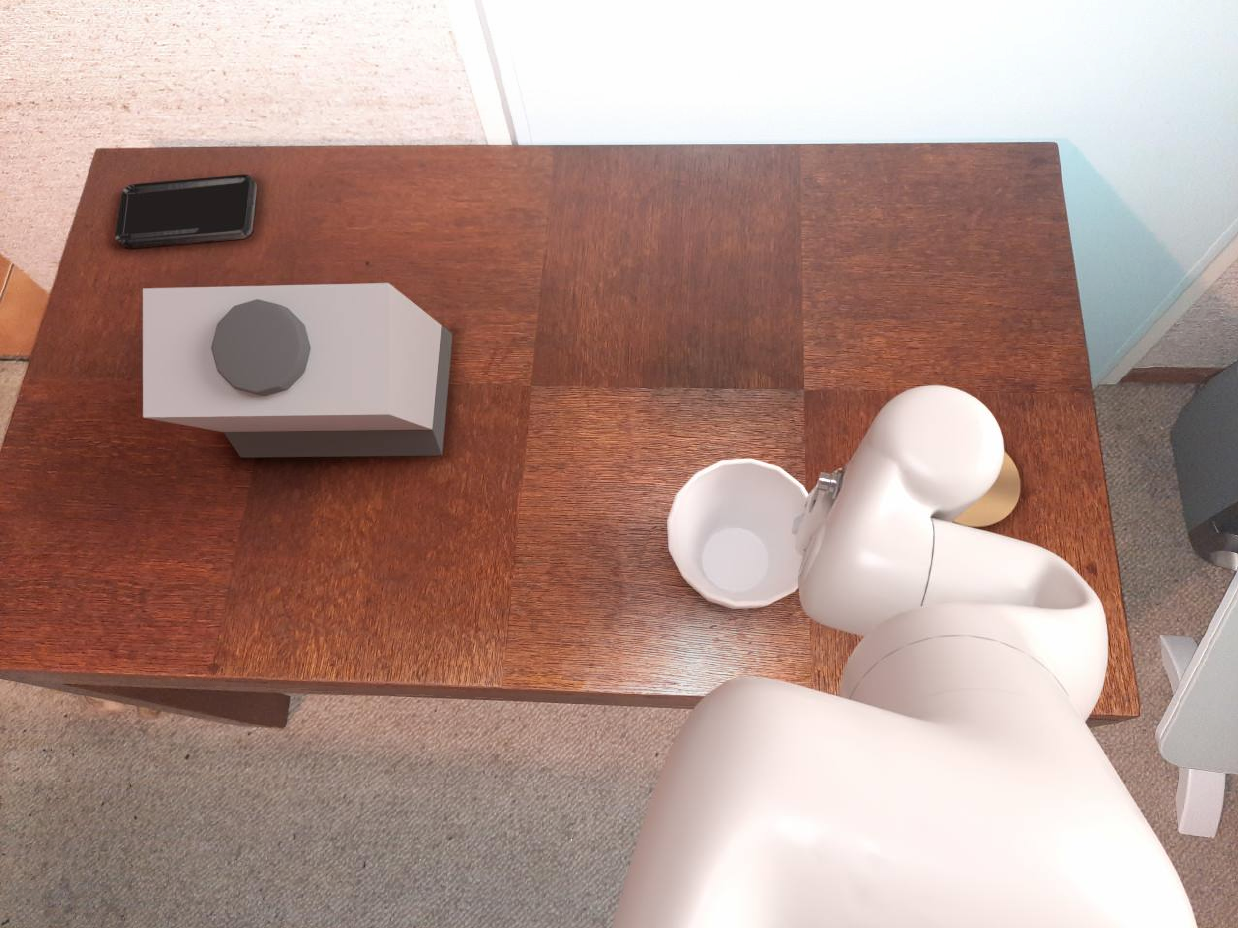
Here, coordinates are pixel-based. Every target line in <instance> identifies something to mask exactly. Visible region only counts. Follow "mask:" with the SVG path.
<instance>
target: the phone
mask: <svg viewBox="0 0 1238 928" xmlns="http://www.w3.org/2000/svg"><path fill="white" fill-rule="evenodd" d="M257 197H258V184H257V182H256V181H255V180H254V178H253V177H252V176H250V175H249V174H244V173H243V174H233V175H232V174H231V175H222V176H221V175H219V176H210V177H200V178H187V179H186V178H185V179H176V180H175V179H174V180H163V181H154V182H152V181H151V182H143V183H142V182H141V183H132V184H129V185H127V186H126V187H124V189H123V190H122V192H121V198H120V203H119V209H118V215H117V221H116V227H115V233H114V238H115V240H116V241H117V242H118V243H119V244H120V245H121V246H122V247H123V248H125V249H139V248H152V247H162V246H163V247H164V246H175V245H186V244H199V243H210V242H211V243H212V242H221V241H223V242H224V241H233V240H243V239H247V238H248V237H250V236H251V235H252V234H253V232H254V225H255V216H256V208H257V207H256V206H257Z"/></svg>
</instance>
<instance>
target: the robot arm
mask: <svg viewBox="0 0 1238 928" xmlns="http://www.w3.org/2000/svg"><path fill="white" fill-rule="evenodd" d="M1004 443H1005V441H1004V437H1003V433H1002V429H1001V427H1000V424H999V423H998V421H997V419H996V417H995V416H994V414H993V413H992V412H991V411H990V409H989V408H988V407H987V406H986V405H985V404H984V403H982V402H981V401H980V400H979V399H978V398H977V397H975V396H974V395H971V394H970V393H968V392H966V391H964V390H961V389H959V388H956V387H952V386H948V385H940V384H929V385H920V386H917V387H912V388H908V389H906V390H904V391H903V392H902V391H901V393H899V394H896V395H895V396H894V397H892V399H890V400H888V401H887V402H886V403H885V404H884V405H883V407H882V408H881V409H880V411H879V412H878V413H877V414H876V416H875V417H874V419H873V421H872V423H871V424H870V426H869V428H868V430H867V431H866V433H865V435H864V436H863V437H862V439H861V442H860V443H859V444H858V447H857V448H856V450H855V452H854V453H853V455H852V456H851V458H850V460H849V462H847V461H846V462H845V463H844V464H843V466H842V467H840V468H837V469H835V470H833V471H831V472H826V471H823V470H820V471H819V474H818V477H817V482H816V484H815V486H814V487H813V488H812V489H811V491H810V492H809V493H808V496H807V498H806V500H805V503H804V507H806V510H805V513H804V514H802V515H800V516H798V517H796V518H795V519H794V523H793V528H792V533H793V534H795V535H796V543H795V549H796V551H797V552H798V553H799V554H800V555H801V556H803V558H802V562H801V566H800V569H799V574H798V590H799V591H798V592H799V593H798V595H799V596H798V597H799V602H800V605H801V609H802V610H803V612H804V613H805V614H806V615H807V617H808V618H810V619H811V620H813V621H814V622H816V623H818V624H820V625H822V626H825V627H828V628H830V629H834V630H837V631H841V632H845V633H848V634H852V635H855V636H858V637H863V638H862V639H861V640H860V641H859V642H858V644H857V645H856V646H855V648H854V649H853V651H852V653H851V654H850V656H849V657H848V659H847V661H846V663H845V665H844V669H843V672H842V673H841V678H840V683H839V690H838V692H839V693H838V695H834V694H832V693H827V692H824V691H820V690H817V689H814V688H810V687H806V686H803V685H799V684H796V683H793V682H789V681H785V680H780V679H774V678H768V677H764V676H756V675H748V676H747V675H746V676H737V677H735V678H732V679H729V680H726V681H724V682H723V683H721V684H720V685H718V686H717V687H715V688H713V690H711V691H709V692H708V693H706V695H705V696H704V697H702V698H701V700H700V701H699V702H698V703H697V704H696V705H695V706H694V708H693V709H692V710H691V712H690V714H689V715H688V716H687V718H686V720H684V721H683V724H682V726H681V728H680V730H679V731H678V733H677V735H676V737H675V738H674V741H673V743H672V744H671V747H670V749H669V751H668V754H667V756H666V758H665V761H664V763H663V765H662V767H661V769H660V772H659V775H658V778H657V780H656V783H655V785H654V788H653V791H652V793H651V797H650V799H649V802H648V805H647V808H646V811H645V813H644V814H645V815H644V817H643V821H642V824H641V828H640V830H639V832H638V837H637V839H636V843H635V845H634V849H633V851H632V855H631V858H630V862H629V864H628V868H627V871H626V875H625V878H624V882H623V885H622V889H621V893H620V896H619V900H618V903H617V908H616V910H615V914H614V918H613V921H612V925H611V928H1199V927H1198V924H1197V920H1196V917H1195V913H1194V910H1193V906H1192V905H1191V902H1190V899H1189V897H1188V894H1187V891H1186V890H1185V888H1184V885H1183V883H1182V880H1181V877H1180V875H1179V873H1178V872H1177V870H1176V867H1175V866H1174V864H1173V863H1172V861H1171V859H1170V857H1169V855H1168V854H1167V851H1166V850H1165V847H1164V846H1163V844H1162V843H1161V841H1160V840H1159V838H1158V836H1157V834H1156V833H1155V832H1154V830H1153V828H1152V826H1151V825H1150V823H1149V822H1148V820H1147V819H1146V817H1145V816H1144V813H1143V812H1142V811H1141V809H1140V807H1139V805H1138V804H1137V803H1136V801H1135V799H1134V798H1133V796H1132V794H1131V793H1130V792H1129V789H1128V788H1127V786H1126V785H1125V783H1124V782H1123V780H1122V779H1121V776H1119V774H1118V772H1117V771H1116V769H1115V768H1114V766H1113V764H1112V763H1111V761H1110V759H1109V758H1108V756H1107V755H1106V753H1105V751H1104V750H1103V748H1102V747H1101V745H1100V744H1099V742H1098V741H1097V739H1096V737H1095V736H1094V734H1093V733H1092V731H1091V729H1090V728H1089V726H1088V725H1087V723H1086V722H1087V720H1088V719H1089V717H1090V715H1091V713H1092V712H1093V710H1094V708H1095V707H1096V705H1097V703H1098V701H1099V699H1100V696H1101V693H1102V691H1103V688H1104V683H1105V678H1106V674H1107V668H1108V661H1109V634H1108V626H1107V618H1106V613H1105V610H1104V607H1103V603H1102V601H1101V599H1100V598H1099V596H1098V595H1097V593H1096V592H1095V591H1094V589H1093V588H1092V587H1091V586H1090V584H1088V583H1087V581H1086V580H1085V579H1084V577H1082V575H1080V574H1079V573H1078V572H1077V570H1076V569H1075V568H1074V567H1073V566H1072V565H1071V564H1070V563H1068V561H1066V560H1065V559H1063V558H1062V557H1061V556H1059V555H1057V554H1056V553H1054V552H1052V551H1050V550H1049V549H1047V548H1045V547H1042V546H1039V545H1038V544H1034V543H1031V542H1028V541H1024V540H1021V539H1017V538H1014V537H1010V536H1006V535H1002V534H999V533H996V532H992V531H987V530H983V529H980V528H972V527H968V526H964V525H960V524H956V523H952V522H953V521H954V520H955V519H957V518H958V517H959V516H960V515H961V514H962V513H964V512H965V511H966V510H967V509H968V508H969V507H971V506H972V505H973V504H974V503H975V502H976V501H977V500H979V499H980V498H981V497H982V496H983V495H984V494H985V493H986V492H987V491H988V490H989V489H990V488H991V486H992V485H993V484H994V483H995V481H996V479H997V477H998V475H999V473H1000V471H1001V468H1002V464H1003V459H1004V451H1005V444H1004Z"/></svg>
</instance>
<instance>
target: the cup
mask: <svg viewBox="0 0 1238 928" xmlns="http://www.w3.org/2000/svg"><path fill="white" fill-rule="evenodd" d="M808 495H809V493H808V491H807V490H806V488H805V486H804V485H803V484H802V483H800V482H799V481H798V480H797V479H796V478H795V477H793V476H792V475H791V474H789V473H788V472H787V471H785V469H783V468H782V467H780V466H778V465H775V464H771V463H767V462H765V461H761V460H757V459H755V458H735V459H734V458H733V459H721V460H719V461H716V462H715V463H713V464H710V465H708V466H707V467H705V468H703V469H700V470H698V471H695V472H694V474H692V475H691V477H690V478H689V479H688V481H687V482H686V483H684V484H683V486H681V488H679V490H678V491H677V492H676V494H675V495H674V499H673V501H672V505H671V507H670V510H669V514H668V516H667V519H666V528H667V529H666V530H667V545H668V546H667V547H668V552H669V553H670V555H671V557H672V559H673V561H674V563H675V565H676V568H677V569H678V571H679V573H680V575H681V577H682V578H683V579H684V581H685V582H686V583H687V584H688V585H689V586H691V587H692V588H693V589H694V590H695V591H696V592H697V593H698V594H699V595H701V597H702V598H704V599H705V600H706V601H708V602H711V603H714V604H716V605H720V606H723V607H726V608H729V609H731V610H739V609H740V610H741V609H761V608H763V607H767V606H769V605H771V604H773V603H774V602H775V603H776V602H777V601H779V600H781V599H783V598H786V597H787V596H789V595H792V594H793V593H795V592H796V591H797V590H798V589H799V587H798V574H799V569H800V566H801V562H802V558H803V556H801V555H800V554H799V553H798V552H797V551H796V549H795V543H796V535H795V534H793V533H792V528H793V523H794V519H795V518H796V517H798V516H800V515H802V514H804V513H805V510H806V507H804V503H805V500H806V498H807V496H808Z"/></svg>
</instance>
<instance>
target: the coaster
mask: <svg viewBox="0 0 1238 928" xmlns="http://www.w3.org/2000/svg"><path fill="white" fill-rule="evenodd" d="M1020 477H1021V476H1020V474H1019V470H1018V468H1017V467H1016V464H1015V462H1014V460H1013V459H1012V458H1011V457H1010V455H1009V454H1008V453H1007V452H1006V451H1005V450H1004V459H1003V464H1002V468H1001V471H1000V473H999V475H998V477H997V479H996V481H995V483H994V484H993V485H992V486H991V488H990V489H989V490H988V491H987V492H986V493H985V494H984V495H983V496H982V497H981V498H980V499H979V500H977V501H976V502H975V503H974V504H973V505H972V506H971V507H969V508H968V509H967V510H966V511H965V512H964V513H962V514H961V515H960V516H959V517H958V518H957V519H955V520H954V521H953V522H952V523H956V524H960V525H964V526H968V527H972V528H976V529H980V528H986V527H989V526H993V525H996V524H998V523H1000V522H1001V521H1003V520H1004V519H1005V518H1007V516H1009V515H1010V514H1011V513H1012V512H1013V510H1014V509H1015V507H1016V506H1017V504H1018V502H1019V498H1020V496H1021V478H1020Z"/></svg>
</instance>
